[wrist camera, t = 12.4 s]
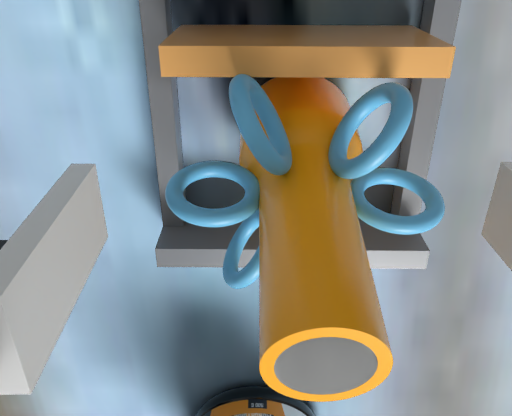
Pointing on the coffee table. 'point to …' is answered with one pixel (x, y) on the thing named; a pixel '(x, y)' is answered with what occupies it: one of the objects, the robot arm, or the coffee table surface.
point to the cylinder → (311, 228)
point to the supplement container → (254, 403)
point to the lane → (218, 238)
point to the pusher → (305, 51)
